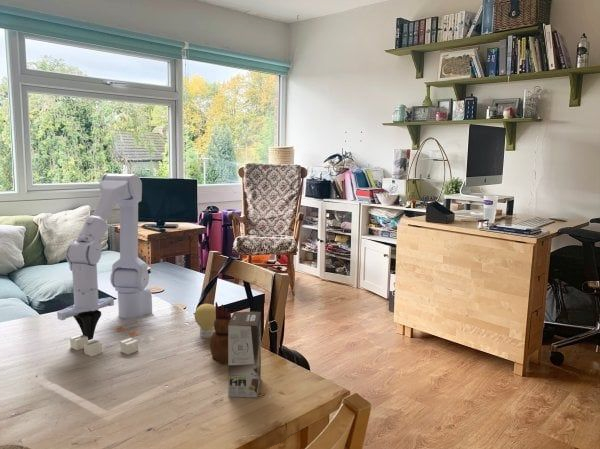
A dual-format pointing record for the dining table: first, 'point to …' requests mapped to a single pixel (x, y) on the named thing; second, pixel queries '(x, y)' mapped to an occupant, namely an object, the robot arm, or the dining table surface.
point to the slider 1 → (78, 341)
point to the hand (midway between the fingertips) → (88, 338)
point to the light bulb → (205, 319)
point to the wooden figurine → (220, 336)
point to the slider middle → (93, 348)
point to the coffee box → (244, 354)
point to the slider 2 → (129, 346)
